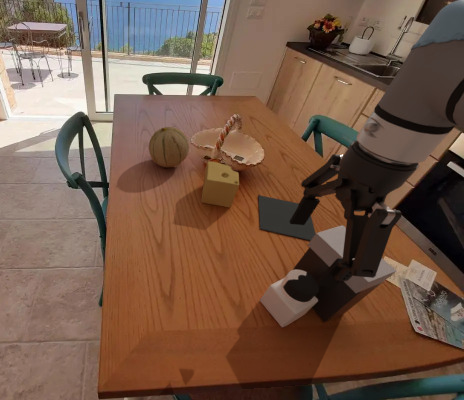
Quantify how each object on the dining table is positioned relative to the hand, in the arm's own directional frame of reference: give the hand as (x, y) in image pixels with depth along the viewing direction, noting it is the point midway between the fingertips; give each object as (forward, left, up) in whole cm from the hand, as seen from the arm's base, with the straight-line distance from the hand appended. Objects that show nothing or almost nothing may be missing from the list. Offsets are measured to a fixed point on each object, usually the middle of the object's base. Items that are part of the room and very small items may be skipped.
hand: (309, 250), depth 49 cm
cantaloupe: (+48, +35, -21) cm, 63 cm away
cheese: (+35, +15, -21) cm, 43 cm away
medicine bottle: (0, -3, -21) cm, 21 cm away
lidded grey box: (+5, -10, -21) cm, 24 cm away
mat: (+32, -7, -21) cm, 39 cm away
